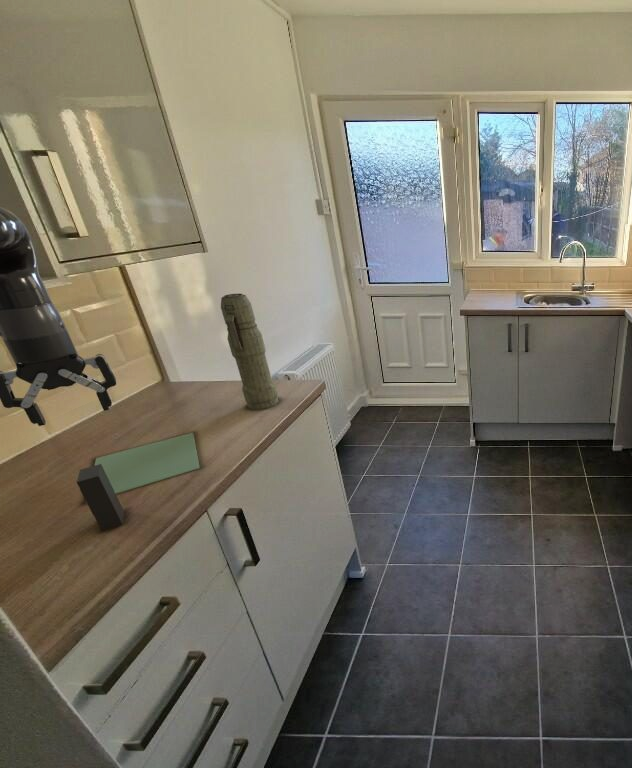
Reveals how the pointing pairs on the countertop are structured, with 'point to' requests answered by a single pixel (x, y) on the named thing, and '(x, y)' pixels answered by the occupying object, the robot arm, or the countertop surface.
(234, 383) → the countertop surface
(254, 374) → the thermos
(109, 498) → the dark grey tall block
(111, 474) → the mat
